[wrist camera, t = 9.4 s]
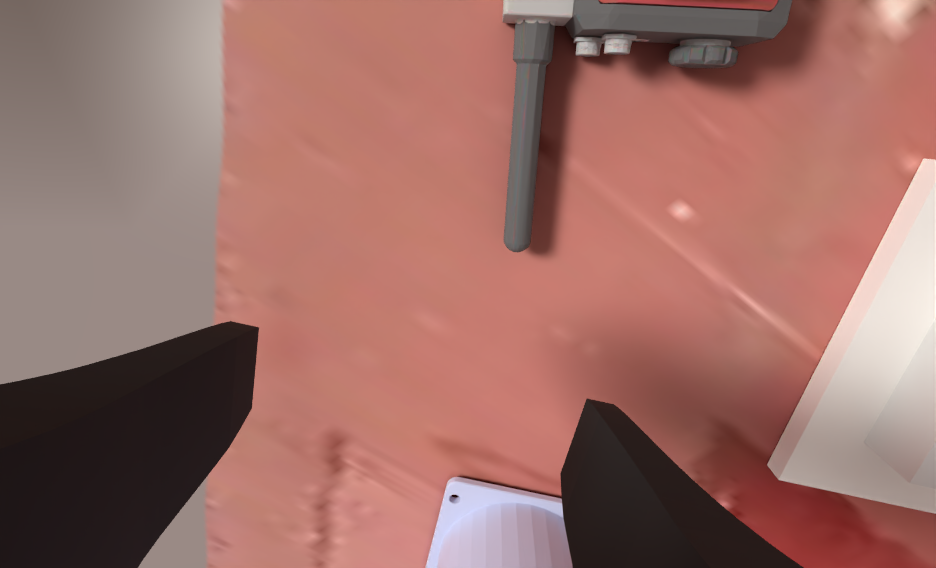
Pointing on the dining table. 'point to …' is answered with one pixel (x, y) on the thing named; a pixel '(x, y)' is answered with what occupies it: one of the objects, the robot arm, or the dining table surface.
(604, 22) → the walkie-talkie
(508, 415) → the dining table surface
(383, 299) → the dining table surface
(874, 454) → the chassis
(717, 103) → the dining table surface
